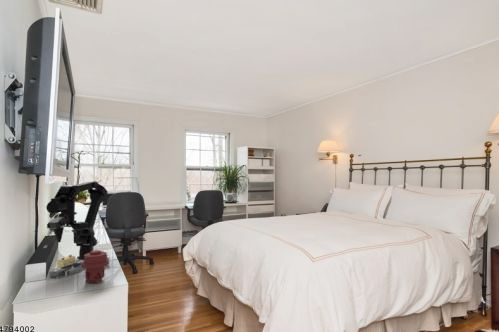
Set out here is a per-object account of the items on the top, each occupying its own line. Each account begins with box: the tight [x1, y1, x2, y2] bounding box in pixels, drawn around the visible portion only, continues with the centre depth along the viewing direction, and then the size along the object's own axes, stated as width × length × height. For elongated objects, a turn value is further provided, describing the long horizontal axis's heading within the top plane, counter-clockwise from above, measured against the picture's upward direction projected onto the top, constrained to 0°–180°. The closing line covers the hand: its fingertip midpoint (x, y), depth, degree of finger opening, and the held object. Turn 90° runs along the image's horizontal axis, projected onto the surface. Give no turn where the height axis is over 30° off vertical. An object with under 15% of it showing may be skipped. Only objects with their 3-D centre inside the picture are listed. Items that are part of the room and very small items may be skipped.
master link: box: [56, 254, 76, 268], centre depth 139 cm, size 7×4×5 cm, turn 169°
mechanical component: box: [81, 249, 110, 284], centre depth 119 cm, size 12×10×10 cm
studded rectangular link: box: [49, 259, 85, 279], centre depth 130 cm, size 16×9×3 cm, turn 168°
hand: (67, 242), depth 140 cm, fingers open, 9 cm apart
